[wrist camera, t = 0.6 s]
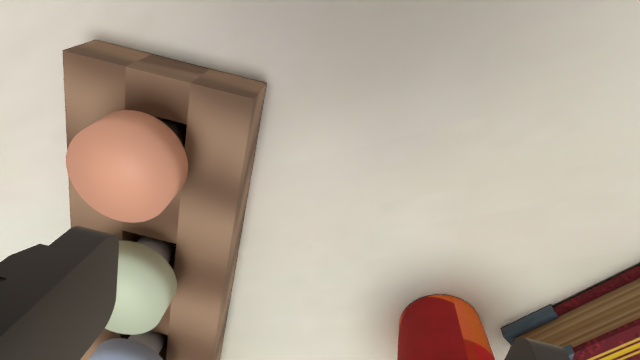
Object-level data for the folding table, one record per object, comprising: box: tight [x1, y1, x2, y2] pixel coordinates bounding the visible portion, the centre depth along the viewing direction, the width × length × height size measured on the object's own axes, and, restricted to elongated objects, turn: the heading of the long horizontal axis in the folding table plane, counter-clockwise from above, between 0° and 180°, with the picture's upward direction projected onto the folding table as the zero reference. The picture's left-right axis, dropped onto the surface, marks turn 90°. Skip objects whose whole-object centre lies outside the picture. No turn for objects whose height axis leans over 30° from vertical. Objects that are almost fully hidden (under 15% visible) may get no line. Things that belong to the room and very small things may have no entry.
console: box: [63, 40, 267, 360], centre depth 30 cm, size 24×10×3 cm, turn 167°
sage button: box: [105, 235, 177, 335], centre depth 28 cm, size 5×5×5 cm
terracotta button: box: [66, 110, 188, 223], centre depth 24 cm, size 5×5×5 cm
